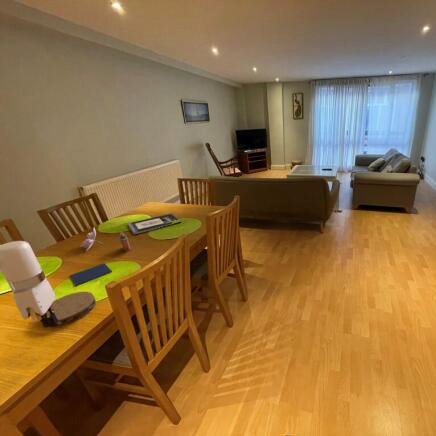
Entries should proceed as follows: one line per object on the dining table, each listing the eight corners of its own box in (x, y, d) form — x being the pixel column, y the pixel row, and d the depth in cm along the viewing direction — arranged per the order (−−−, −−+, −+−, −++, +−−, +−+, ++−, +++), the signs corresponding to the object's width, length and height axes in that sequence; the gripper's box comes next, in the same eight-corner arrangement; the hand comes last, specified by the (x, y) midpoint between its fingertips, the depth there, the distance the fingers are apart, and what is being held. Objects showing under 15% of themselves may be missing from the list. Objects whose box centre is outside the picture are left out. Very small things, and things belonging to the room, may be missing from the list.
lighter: (121, 247, 140) (116, 232, 136) (128, 245, 142) (123, 230, 138) (125, 252, 135) (120, 236, 131) (132, 250, 137) (127, 234, 133)
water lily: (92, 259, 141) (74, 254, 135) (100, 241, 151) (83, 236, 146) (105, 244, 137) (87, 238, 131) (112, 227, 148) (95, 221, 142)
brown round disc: (105, 298, 100) (103, 292, 99) (69, 329, 85) (66, 322, 84) (71, 296, 101) (68, 290, 100) (30, 325, 87) (26, 319, 86)
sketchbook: (181, 222, 174) (181, 220, 173) (134, 235, 155) (133, 232, 154) (171, 214, 188) (171, 212, 188) (127, 225, 170) (126, 222, 169)
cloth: (75, 286, 108) (75, 285, 107) (69, 276, 115) (69, 275, 114) (112, 271, 118) (111, 271, 117) (104, 263, 125) (104, 262, 124)
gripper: (24, 270, 78) (47, 313, 86) (-5, 299, 66) (25, 346, 73) (53, 264, 81) (73, 306, 88) (31, 291, 69) (56, 337, 76)
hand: (51, 324), depth 81 cm, fingers closed
